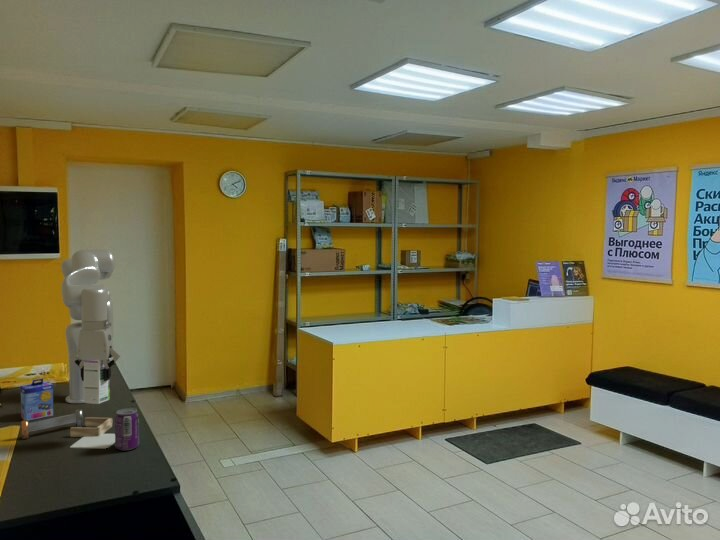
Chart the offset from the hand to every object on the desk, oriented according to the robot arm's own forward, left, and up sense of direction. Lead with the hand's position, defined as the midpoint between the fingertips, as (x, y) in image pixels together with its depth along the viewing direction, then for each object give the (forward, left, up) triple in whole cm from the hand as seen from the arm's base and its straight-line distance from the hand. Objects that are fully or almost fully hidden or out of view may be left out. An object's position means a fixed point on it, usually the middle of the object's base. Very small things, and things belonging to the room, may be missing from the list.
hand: (95, 379), depth 187 cm
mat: (0, 0, -21) cm, 21 cm away
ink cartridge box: (-23, -33, -21) cm, 45 cm away
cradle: (-9, -7, -21) cm, 24 cm away
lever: (-7, -18, -20) cm, 28 cm away
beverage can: (+5, +12, -21) cm, 25 cm away
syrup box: (0, 0, -8) cm, 8 cm away
